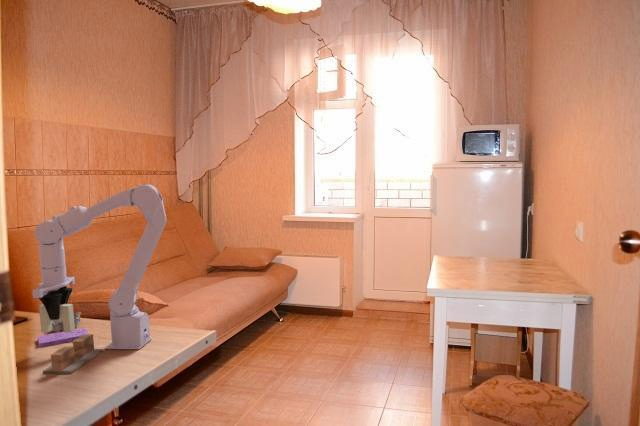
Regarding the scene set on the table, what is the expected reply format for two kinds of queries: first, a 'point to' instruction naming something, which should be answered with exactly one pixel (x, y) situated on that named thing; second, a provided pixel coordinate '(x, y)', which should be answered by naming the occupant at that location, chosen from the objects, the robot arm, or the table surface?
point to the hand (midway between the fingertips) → (57, 317)
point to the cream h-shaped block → (64, 316)
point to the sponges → (60, 337)
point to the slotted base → (73, 356)
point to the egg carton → (59, 324)
